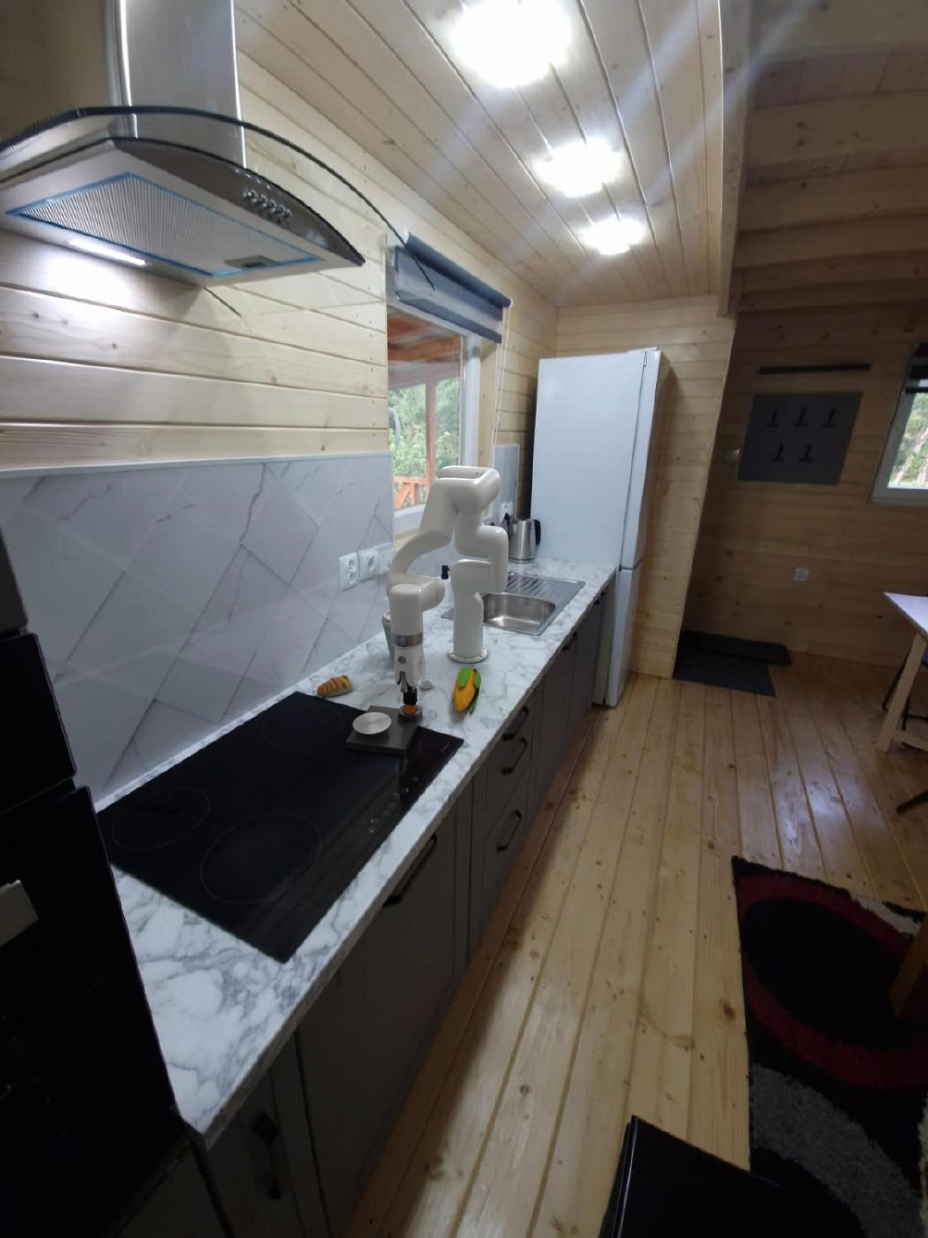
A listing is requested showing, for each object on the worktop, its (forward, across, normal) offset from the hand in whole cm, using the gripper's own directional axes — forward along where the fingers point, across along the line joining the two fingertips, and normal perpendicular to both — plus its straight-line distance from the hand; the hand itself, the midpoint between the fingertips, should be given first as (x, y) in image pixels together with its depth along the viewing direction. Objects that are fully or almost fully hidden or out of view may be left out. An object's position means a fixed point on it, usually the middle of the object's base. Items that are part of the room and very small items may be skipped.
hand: (410, 702), depth 123 cm
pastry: (+6, +10, +25) cm, 27 cm away
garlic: (+6, +17, +1) cm, 18 cm away
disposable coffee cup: (+6, +34, +14) cm, 37 cm away
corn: (+6, +12, -12) cm, 18 cm away
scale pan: (+2, -8, +7) cm, 11 cm away
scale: (+5, -6, +5) cm, 9 cm away
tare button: (+2, 0, 0) cm, 2 cm away
